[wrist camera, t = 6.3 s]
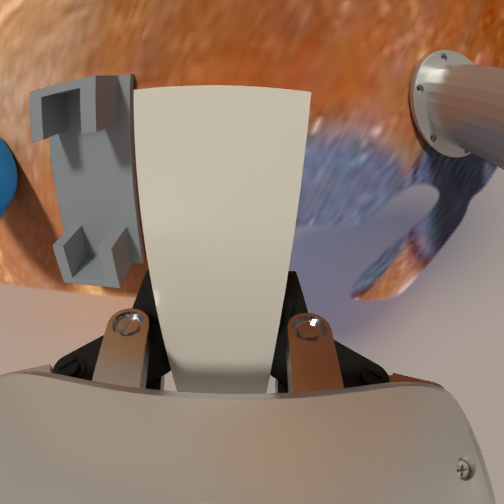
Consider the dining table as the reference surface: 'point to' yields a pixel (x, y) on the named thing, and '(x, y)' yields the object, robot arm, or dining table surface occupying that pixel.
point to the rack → (92, 175)
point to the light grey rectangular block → (219, 224)
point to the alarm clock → (6, 177)
